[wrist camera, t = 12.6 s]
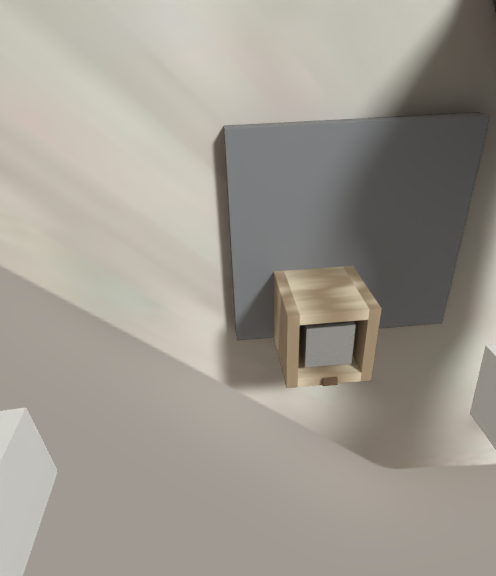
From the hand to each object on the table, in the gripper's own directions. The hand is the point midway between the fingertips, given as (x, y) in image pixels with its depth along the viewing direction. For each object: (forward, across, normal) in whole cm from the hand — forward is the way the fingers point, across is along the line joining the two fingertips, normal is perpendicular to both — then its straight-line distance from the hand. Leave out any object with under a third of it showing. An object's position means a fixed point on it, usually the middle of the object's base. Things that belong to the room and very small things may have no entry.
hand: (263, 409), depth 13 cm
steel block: (+25, -6, +12) cm, 29 cm away
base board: (+25, -10, +6) cm, 28 cm away
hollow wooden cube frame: (+24, -6, +12) cm, 27 cm away
